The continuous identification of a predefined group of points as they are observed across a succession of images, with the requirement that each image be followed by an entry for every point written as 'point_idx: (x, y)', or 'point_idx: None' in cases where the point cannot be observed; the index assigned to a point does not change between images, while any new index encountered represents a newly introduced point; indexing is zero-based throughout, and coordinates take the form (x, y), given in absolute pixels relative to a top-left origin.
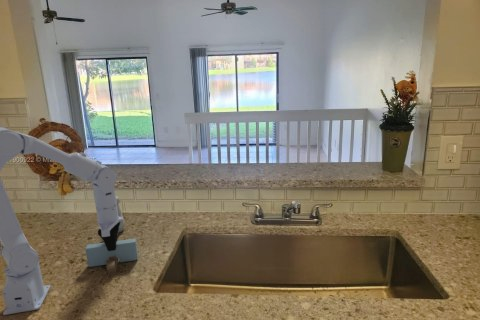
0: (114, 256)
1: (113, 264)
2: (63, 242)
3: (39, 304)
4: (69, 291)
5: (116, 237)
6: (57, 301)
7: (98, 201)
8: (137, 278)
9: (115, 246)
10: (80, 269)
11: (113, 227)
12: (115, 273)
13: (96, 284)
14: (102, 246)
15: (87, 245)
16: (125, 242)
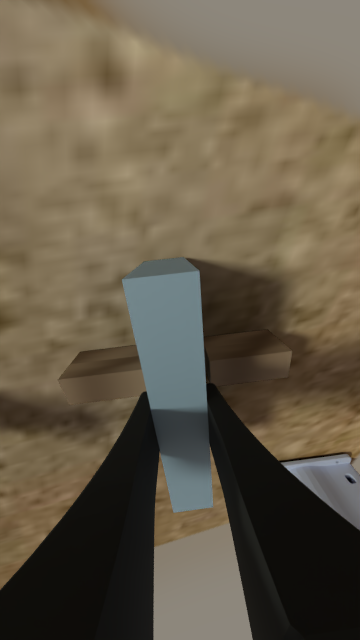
0: (211, 366)
1: (285, 354)
2: (34, 509)
3: (340, 460)
4: (304, 423)
5: (231, 455)
6: (334, 432)
7: None
8: (334, 232)
9: (223, 399)
10: None
11: (131, 602)
12: (265, 330)
13: (302, 372)
14: (209, 458)
15: (180, 509)
16: (188, 352)
